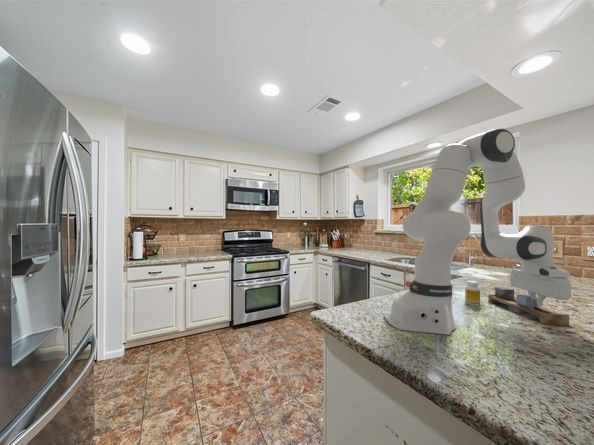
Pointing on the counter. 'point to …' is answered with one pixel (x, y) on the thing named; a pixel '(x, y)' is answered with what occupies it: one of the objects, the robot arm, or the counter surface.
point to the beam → (545, 314)
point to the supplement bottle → (472, 293)
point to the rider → (525, 301)
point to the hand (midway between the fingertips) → (536, 304)
